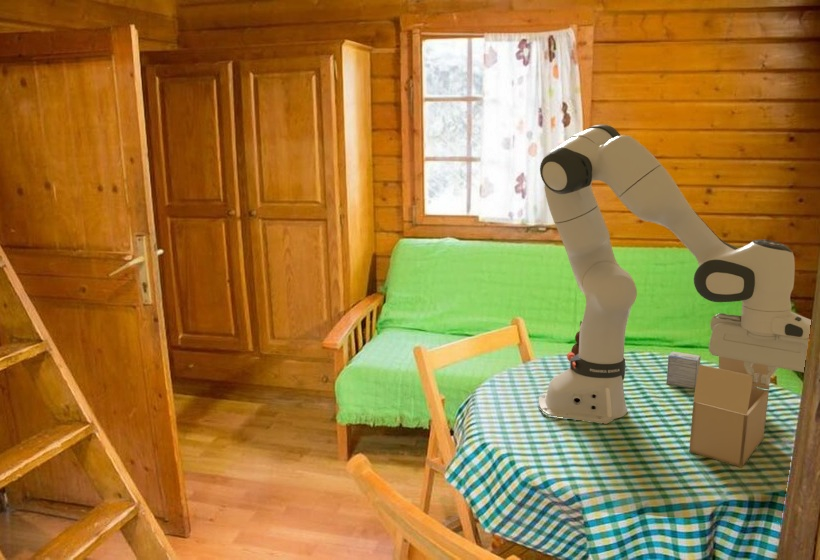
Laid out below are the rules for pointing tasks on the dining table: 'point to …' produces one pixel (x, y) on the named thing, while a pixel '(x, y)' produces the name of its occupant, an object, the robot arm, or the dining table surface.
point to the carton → (729, 430)
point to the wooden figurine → (576, 347)
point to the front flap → (723, 389)
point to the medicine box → (683, 369)
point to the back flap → (739, 368)
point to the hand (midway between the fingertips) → (759, 383)
